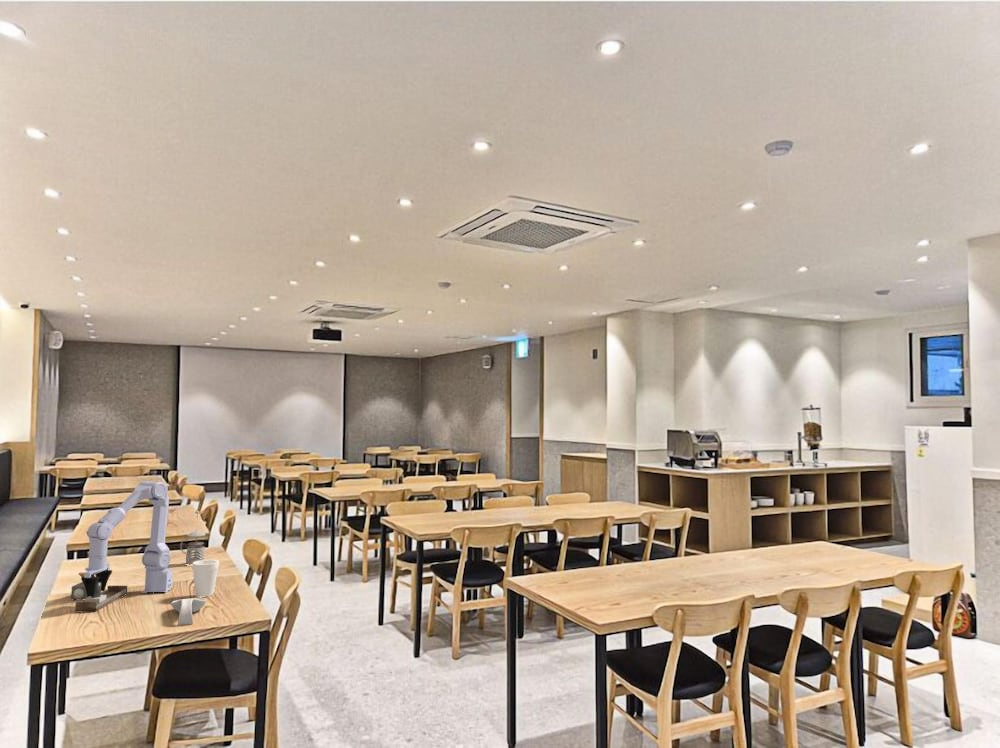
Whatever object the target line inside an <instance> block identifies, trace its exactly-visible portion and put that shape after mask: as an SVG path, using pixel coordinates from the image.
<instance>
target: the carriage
mask: <svg viewBox="0 0 1000 748" xmlns="http://www.w3.org/2000/svg"><path fill="white" fill-rule="evenodd" d="M101 592H102V591H101V582H97V585H96V590H95V594H94V596H89V597H87V598H85V600H84V601H98V602H97V604H98V603H100V602H102V601H104V600H106V595H101Z"/></svg>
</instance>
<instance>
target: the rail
mask: <svg viewBox="0 0 1000 748" xmlns="http://www.w3.org/2000/svg"><path fill="white" fill-rule="evenodd" d="M125 594H127V595H128V585H107V589H105V590H104V591H101V595H106V600H104V601H102V602H100V603H98V604H97V602H98V601H85V600H79V601H75V605H74V606H75V607H74V612H75V611H82V612H81V613H95V612H98V611H99V610H101V609H103V608H105V607H107V606H109V605H110V603H111V604H112V603H114V602H116V601H118V600H119V598H120V599H122V598H123V597H125V596H126V595H125ZM124 595H125V596H124ZM122 596H123V597H122ZM117 599H118V600H117ZM115 600H116V601H115ZM113 601H114V602H113ZM108 604H109V605H108ZM84 611H85V612H84Z"/></svg>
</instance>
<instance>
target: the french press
mask: <svg viewBox="0 0 1000 748" xmlns="http://www.w3.org/2000/svg"><path fill="white" fill-rule="evenodd" d="M194 514H195V515H196V518H198V514H200V510H196V511H195V513H194ZM200 537H202V538H203V537H206V533H205V532H202V531H198V528H196V529H195V531H192V532H190V533H188V534H187V537H186V538H184V539H182V540H181V543H180V551H181V552H182V553H183V554H185V563H184V564H189V565H190V564H193V562H196V561H200V560H205V550H206V547H205V542H201V541H197V538H200ZM189 538H195V541H194V542H193V541H192V542H188V541H189ZM184 541H186V542H188V543H187V547H186V552H185V551H184V549H183V542H184Z"/></svg>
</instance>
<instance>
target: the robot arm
mask: <svg viewBox="0 0 1000 748" xmlns="http://www.w3.org/2000/svg"><path fill="white" fill-rule="evenodd" d="M168 488H169V487H168V485H166V484H165V483H164V482H162V481H151V480H149V481H148V480H142V481H140V483H138V484H137V485H136V486H135V487H134V489H133V492H131V493H130V495H128V497H127V498H126V499H124V501H123V502H122V503H121V504H120V505H118V507H112V508H110V509H108V511H107V513H105V515H103V517H101V518H99V519H98V521H97V522H93V523H91V524H90V526H89V527H88V529H87V531H86V532H85V533H86V535H87V537H88V542H89V553H88V567H85V569H84V572H83V573H84V576H83V577H81V576H80V577H81V578H80V580H81V582H83V583H84V586H85V589H86V593H87V596H94V594H95V590H96V585H97V582H101V592H103V591H105V590H106V586H107V583H108V580H109V578H110V576H111V575H112V573H113V570H112V569H110V563H108V548H109V547H108V541H109V537H111V536H112V534H113V531H114V530H115V528H116V527H117V526H119V524H120V523H121V522H122V521H124V519H125V518H126V513H128V511H130V510H131V509H132V508H133V507H135V506H136V505H137V504H138V503H140V502H141V501H143V500H149V502H150V503H151V504H152V505H153V507H152V516H151V518H152V520H151V528H150V529H151V530H150V538H149V544H148V545H147V546H146V547H145V548H144V553H143V555H142V557H141V562H142V563H141V564H143V566H144V569H145V575H144V577H145V579H144V581H145V582H144V590H141V591H140V594H148V593H147V592H153V593H152V594H155V593H154V592H166V591H167V592H169V591H170V590H172V589H173V588H172V587H173V574H174V572H173V569H172V568H168V566H169V565H170V563H171V558H172V557H171V553H170V550H171V549H170V548H169V547H168V545H167V544H166V535H167V526H168V525H167V524H168V514H169V506H170V505H169V504H170V498H169V495H168V491H169V490H168ZM171 588H172V589H171ZM168 590H169V591H168ZM167 592H166V593H167Z"/></svg>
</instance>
